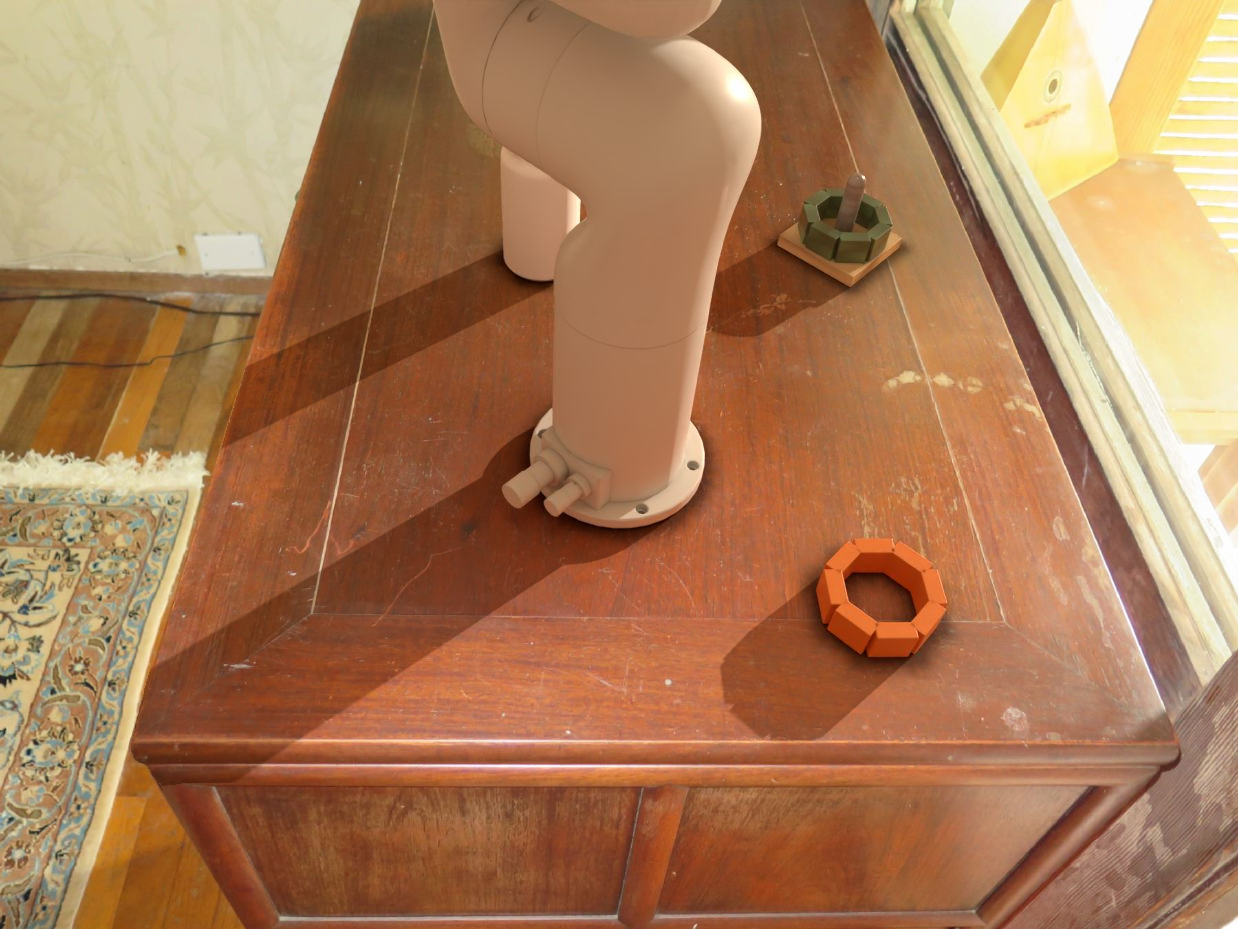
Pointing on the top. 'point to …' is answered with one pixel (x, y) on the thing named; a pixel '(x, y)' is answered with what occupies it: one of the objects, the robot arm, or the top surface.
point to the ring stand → (842, 232)
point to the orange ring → (903, 570)
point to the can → (533, 217)
